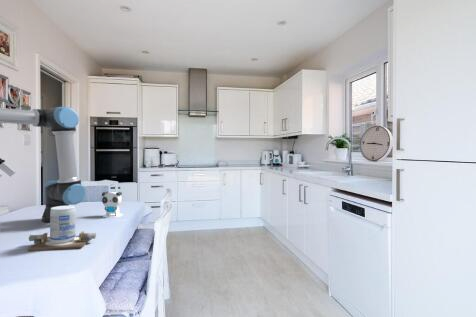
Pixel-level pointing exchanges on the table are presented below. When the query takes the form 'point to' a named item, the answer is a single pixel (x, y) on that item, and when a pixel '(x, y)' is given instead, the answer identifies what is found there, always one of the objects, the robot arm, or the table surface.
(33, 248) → the shaft board
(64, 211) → the supplement tub
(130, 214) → the table surface
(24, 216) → the table surface
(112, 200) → the panda figurine
